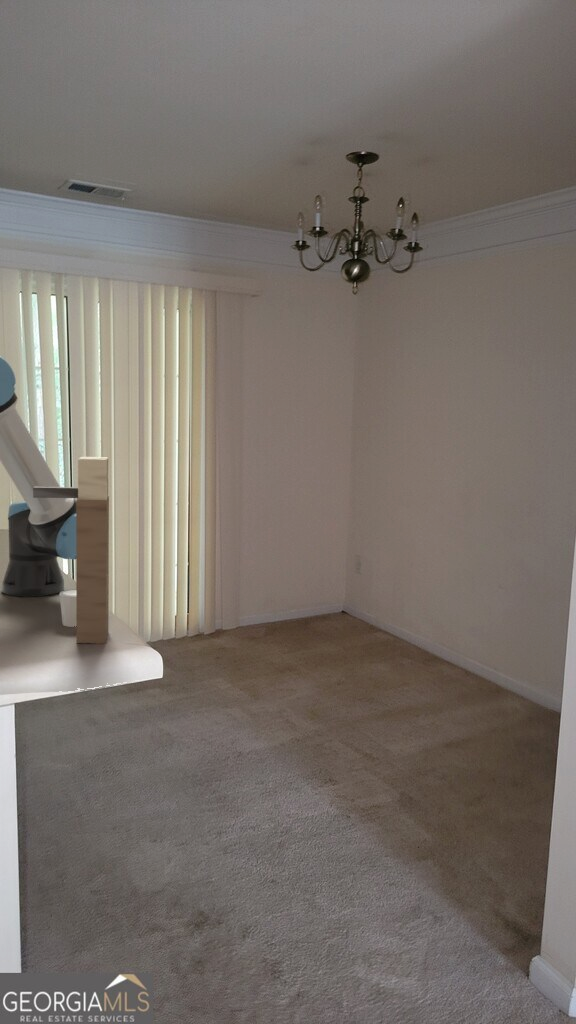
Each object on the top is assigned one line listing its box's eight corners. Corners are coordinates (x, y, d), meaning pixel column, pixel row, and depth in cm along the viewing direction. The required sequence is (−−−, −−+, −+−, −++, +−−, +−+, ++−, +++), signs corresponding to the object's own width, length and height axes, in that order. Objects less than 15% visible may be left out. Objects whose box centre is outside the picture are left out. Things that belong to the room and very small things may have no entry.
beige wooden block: (36, 495, 156) (36, 455, 155) (108, 496, 159) (108, 457, 157) (31, 499, 149) (30, 457, 148) (106, 500, 152) (106, 459, 151)
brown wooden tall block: (80, 632, 162) (80, 495, 158) (108, 632, 163) (108, 495, 159) (76, 643, 154) (76, 500, 150) (106, 643, 155) (106, 500, 151)
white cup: (59, 628, 164) (59, 596, 163) (59, 619, 171) (59, 589, 170) (92, 627, 166) (92, 595, 165) (91, 618, 173) (91, 588, 172)
